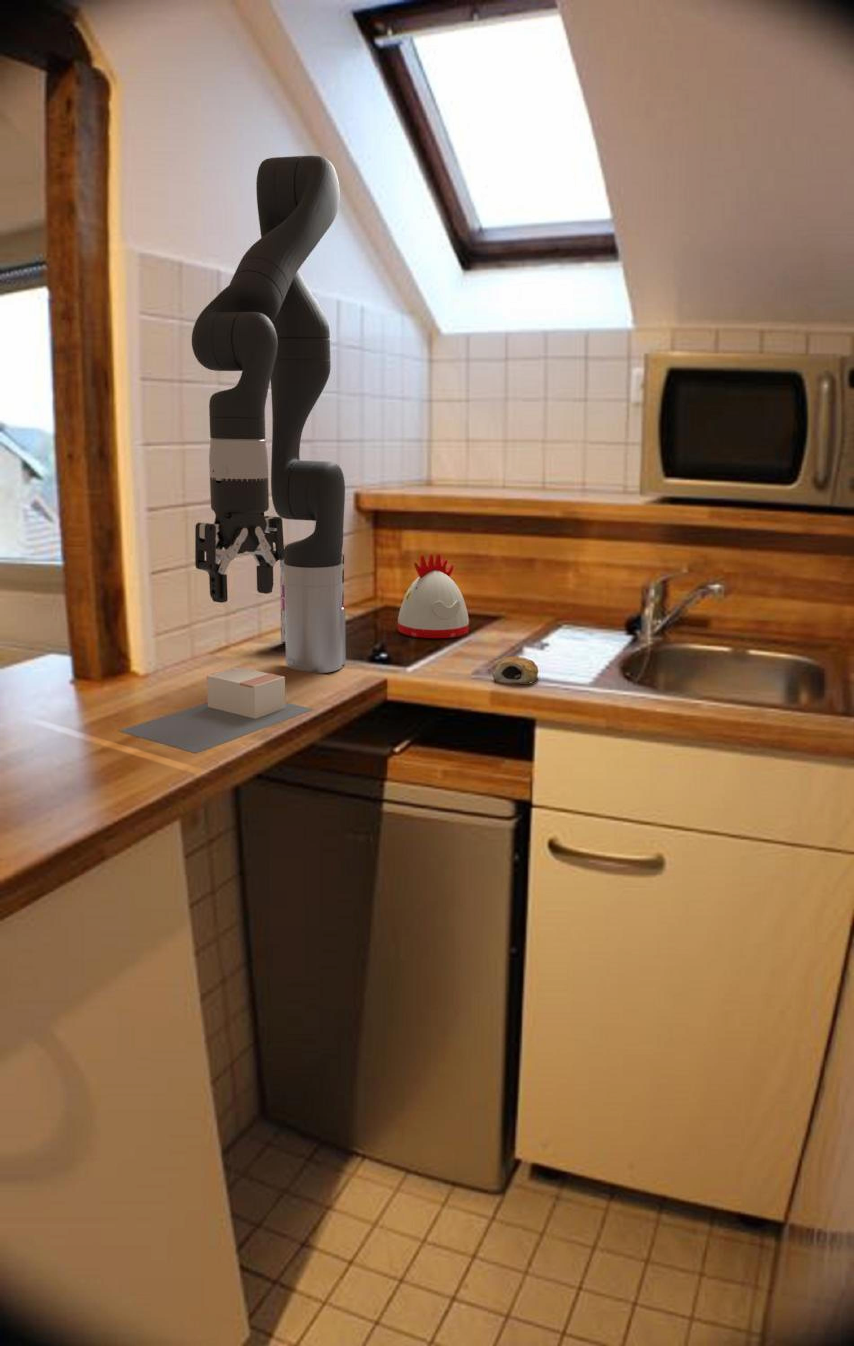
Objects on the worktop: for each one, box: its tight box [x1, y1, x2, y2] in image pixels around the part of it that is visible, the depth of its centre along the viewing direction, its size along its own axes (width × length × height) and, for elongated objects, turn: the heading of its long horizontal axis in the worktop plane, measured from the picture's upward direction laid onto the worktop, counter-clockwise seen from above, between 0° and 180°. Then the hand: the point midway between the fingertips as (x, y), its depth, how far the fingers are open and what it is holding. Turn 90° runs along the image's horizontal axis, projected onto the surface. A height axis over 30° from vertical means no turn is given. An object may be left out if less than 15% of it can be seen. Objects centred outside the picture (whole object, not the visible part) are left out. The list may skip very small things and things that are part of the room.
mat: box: [118, 701, 315, 754], centre depth 125 cm, size 22×14×1 cm, turn 147°
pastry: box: [492, 655, 539, 685], centre depth 150 cm, size 9×7×4 cm
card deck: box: [206, 666, 286, 719], centre depth 129 cm, size 6×9×4 cm, turn 57°
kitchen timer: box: [397, 553, 470, 639], centre depth 181 cm, size 14×14×15 cm
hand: (242, 597), depth 126 cm, fingers open, 8 cm apart
